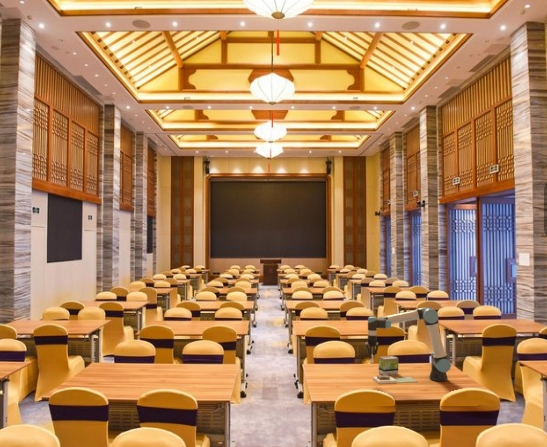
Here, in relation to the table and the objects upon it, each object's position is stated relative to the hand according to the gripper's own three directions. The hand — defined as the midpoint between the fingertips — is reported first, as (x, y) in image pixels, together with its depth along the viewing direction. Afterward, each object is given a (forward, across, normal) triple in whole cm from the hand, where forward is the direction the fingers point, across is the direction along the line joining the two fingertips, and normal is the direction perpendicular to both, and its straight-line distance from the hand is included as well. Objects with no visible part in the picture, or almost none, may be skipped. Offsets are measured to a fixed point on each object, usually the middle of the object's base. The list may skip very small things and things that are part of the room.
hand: (372, 362), depth 415 cm
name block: (+14, -10, 0) cm, 17 cm away
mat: (+16, -29, 0) cm, 33 cm away
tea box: (+16, -24, -22) cm, 37 cm away
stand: (+16, -11, 0) cm, 20 cm away
